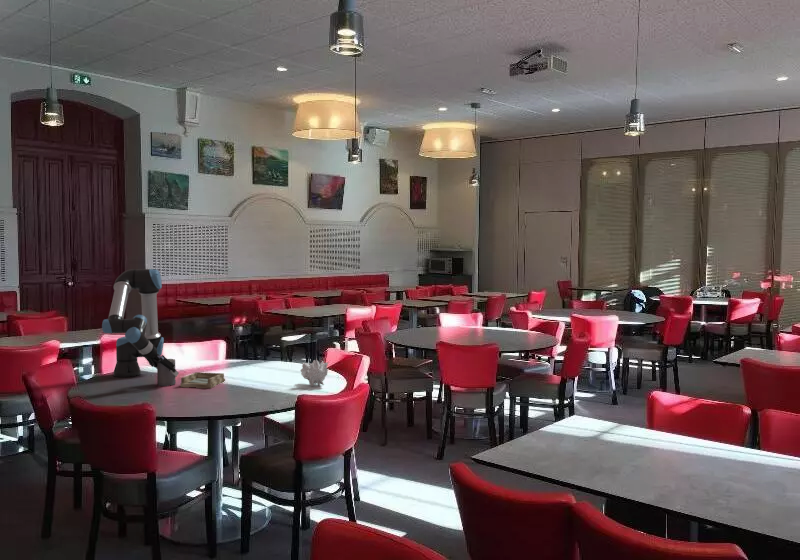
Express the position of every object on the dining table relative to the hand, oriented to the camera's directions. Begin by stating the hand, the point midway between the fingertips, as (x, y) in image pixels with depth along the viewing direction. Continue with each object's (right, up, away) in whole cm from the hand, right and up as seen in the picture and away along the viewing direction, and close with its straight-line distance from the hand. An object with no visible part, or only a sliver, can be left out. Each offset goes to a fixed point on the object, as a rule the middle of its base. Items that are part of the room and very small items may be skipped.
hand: (170, 373), depth 374 cm
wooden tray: (+19, -6, -2) cm, 20 cm away
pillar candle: (-2, -6, -2) cm, 6 cm away
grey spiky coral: (+80, -6, -3) cm, 81 cm away
